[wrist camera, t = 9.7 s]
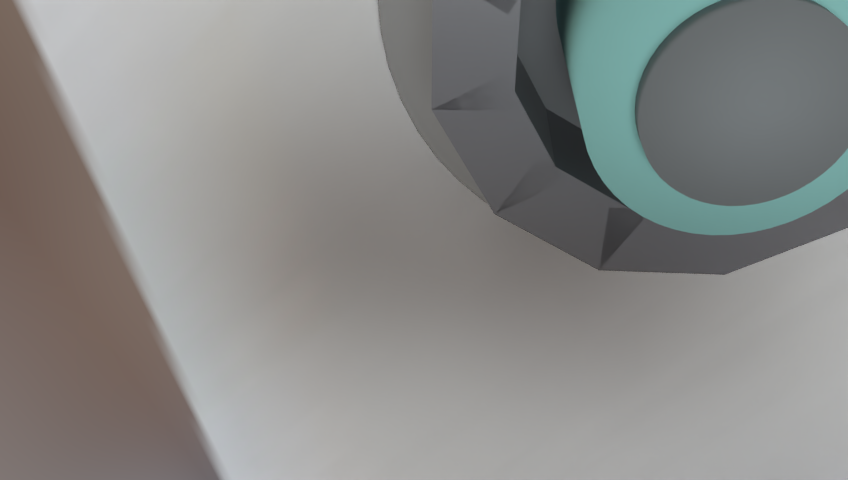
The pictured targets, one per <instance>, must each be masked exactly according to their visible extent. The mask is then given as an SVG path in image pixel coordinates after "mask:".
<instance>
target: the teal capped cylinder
mask: <svg viewBox="0 0 848 480" xmlns="http://www.w3.org/2000/svg"><path fill="white" fill-rule="evenodd" d="M556 18H557V27H558V31H559V36H560V40H561V44H562V48H563V53H564V57H565V61H566V65H567V69H568V74H569V78H570V82H571V86H572V90H573V95H574V99H575V103H576V107H577V111H578V116H579V120H580V124H581V128H582V132H583V136H584V140H585V144H586V148H587V152H588V154H589V156H590V159H591V161H592V164H593V166H594V168H595V170H596V171H597V173H598V174H599V176H600V178H601V179H602V181H603V182H604V184H605V185H606V186H607V187H608V188H609V189H610V191H611V192H612V193H613V194H614V195H615V196H616V197H617V198H618V199H619V200H620V201H621V202H623V203H624V204H625V205H626V206H627V207H629V208H630V209H632V210H633V211H635V212H636V213H638V214H639V215H641V216H642V217H644V218H647V219H649V220H651V221H653V222H655V223H657V224H659V225H662V226H665V227H668V228H671V229H674V230H679V231H683V232H688V233H693V234H704V235H735V234H743V233H751V232H756V231H760V230H765V229H769V228H773V227H776V226H779V225H782V224H785V223H788V222H791V221H793V220H796V219H798V218H800V217H802V216H804V215H807V214H809V213H811V212H813V211H815V210H816V209H818V208H820V207H822V206H823V205H825V204H827V203H829V202H830V201H832V200H833V199H835V198H836V197H837V196H839V195H840V194H842V193H843V192H844V191H846V190H847V189H848V0H556Z"/></svg>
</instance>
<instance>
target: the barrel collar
mask: <svg viewBox="0 0 848 480" xmlns="http://www.w3.org/2000/svg"><path fill="white" fill-rule="evenodd" d="M378 5H379V16H380V26H381V35H382V39H383V43H384V48H385V52H386V57H387V61H388V65H389V69H390V72H391V74H392V77H393V80H394V82H395V85H396V88H397V90H398V93H399V96H400V98H401V101H402V103H403V105H404V107H405V109H406V110H407V112H408V114H409V116H410V118H411V120H412V122H413V123H414V125H415V127H416V129H417V131H418V132H419V134H420V135H421V136H422V138H423V139H424V141H425V142H426V143H427V145H428V146H429V147H430V149H431V150H432V152H433V153H434V154H435V156H436V157H437V158H438V159H439V160H440V161H441V162H442V163H443V165H444V166H445V167H446V168H447V169H448V170H449V171H450V172H451V173H452V174H453V175H454V176H455V177H456V178H457V179H458V180H459V181H460V182H461V183H462V184H464V185H465V186H466V187H467V188H468V189H470V190H471V191H472V192H473V193H475V194H476V195H477V196H478V197H479V198H481V199H482V200H483V201H485V202H486V203H488V204H489V205H490V207H491V209H492V210H493V212H494V214H496V215H498V216H499V217H501V218H503V219H505V220H507V221H509V222H511V223H512V224H514V225H516V226H518V227H520V228H522V229H524V230H525V231H527V232H529V233H531V234H533V235H535V236H537V237H538V238H540V239H542V240H544V241H546V242H548V243H550V244H551V245H553V246H555V247H557V248H559V249H561V250H563V251H564V252H566V253H568V254H570V255H572V256H574V257H576V258H577V259H579V260H581V261H583V262H585V263H587V264H588V265H590V266H592V267H594V268H596V269H598V270H609V271H638V272H666V273H694V274H722V275H724V274H727V273H730V272H733V271H735V270H738V269H740V268H743V267H746V266H748V265H751V264H754V263H756V262H759V261H762V260H764V259H767V258H769V257H772V256H775V255H777V254H780V253H783V252H785V251H788V250H790V249H793V248H796V247H798V246H801V245H804V244H806V243H809V242H811V241H814V240H817V239H819V238H822V237H825V236H827V235H830V234H832V233H835V232H838V231H840V230H843V229H846V228H848V189H847V190H846V191H844V192H843V193H842V194H840V195H839V196H837V197H836V198H835V199H833V200H832V201H830V202H829V203H827V204H825V205H823V206H822V207H820V208H818V209H816V210H815V211H813V212H811V213H809V214H807V215H804V216H802V217H800V218H798V219H796V220H793V221H791V222H788V223H785V224H782V225H779V226H776V227H773V228H769V229H765V230H760V231H756V232H751V233H743V234H735V235H704V234H693V233H688V232H683V231H679V230H674V229H671V228H668V227H665V226H662V225H659V224H657V223H655V222H653V221H651V220H649V219H647V218H644V217H642V216H641V215H639V214H638V213H636V212H635V211H633V210H632V209H630V208H629V207H627V206H626V205H625V204H624V203H623V202H621V201H620V200H619V199H618V198H617V197H616V196H615V195H614V194H613V193H612V192H611V191H610V189H609V188H608V187H607V186H606V185H605V184H604V182H603V181H602V179H601V178H600V176H599V174H598V173H597V171H596V170H595V168H594V166H593V164H592V161H591V159H590V156H589V154H588V152H587V148H586V144H585V140H584V136H583V132H582V128H581V124H580V120H579V116H578V111H577V107H576V103H575V99H574V95H573V90H572V86H571V82H570V78H569V74H568V69H567V65H566V61H565V57H564V53H563V48H562V44H561V40H560V36H559V31H558V27H557V18H556V0H378Z"/></svg>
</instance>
